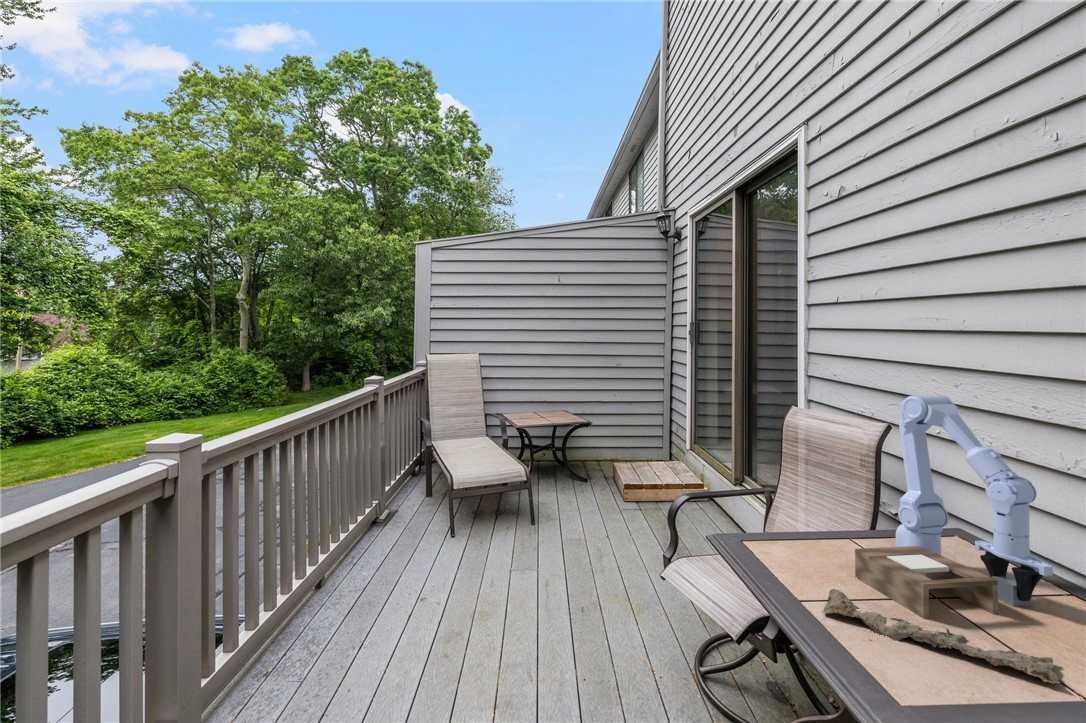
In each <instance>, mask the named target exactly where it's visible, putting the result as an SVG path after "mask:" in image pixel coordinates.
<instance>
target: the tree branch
mask: <svg viewBox="0 0 1086 723" xmlns="http://www.w3.org/2000/svg"><path fill="white" fill-rule="evenodd" d="M859 608H860V607H858V606H857V605H855V603H854V602H852V600H850V599H849V598H848V596H847V595H846V594H845V593H844V592H843V591H841V590H839V589H835V588H832V589H830V590H829V593H828V597H827V602H826V604H824V608H823V611H821V613H822V614H824V613H825V614H826V613H829V614H833V613H834V614H841V615H842V616H844V617H845V616H846V617H847V616H848V617H850V618H855V617H856V618H857V619H860V620H861V621H862V622H863V623H864V624H865V625H867V626H868V627H869V628H870V629H871V631H872V633H873V632H874V633H873V634H875V633H877V634H879V635H878V636H880V635H884V636H883V637H885V636H887V637H889V639H890V638H891V639H890V640H892V641H900V640H903V639H905V638H908V637H911V638H912V639H913V640H914V641H917V642H920V643H926V644H930V646H932V647H934V648H937V647H938V649H941V648H942V649H943V648H945V649H947V648H948V649H951V650H952V648H954V649H955V650H956V649H957V650H959V651H960V652H961V654H962V655H968V656H970V657H974V658H980V659H985V660H986V661H987V662H988V663H989V664H991V665H993V666H995V667H997V666H998V667H999V666H1002V667H1003V666H1006V667H1008V666H1009V667H1011V668H1013V669H1014V670H1018V671H1021V672H1024V673H1025V674H1027V675H1031V676H1033V677H1034V678H1036V677H1038V678H1039V679H1041V681H1043V682H1044V683H1046V682H1048V683H1049V684H1050V683H1051V684H1061V683H1062V682H1060V681H1059V676H1058V675H1057V671H1056V666H1055V665H1054V659H1053V657H1047V656H1046V657H1043V656H1042V657H1038V656H1034V655H1028V654H1026V653H1023V652H1016V651H1013V650H1012V651H1011V650H1007V651H1005V650H999V649H995V650H994V649H988V650H985V649H987V648H986V646H985V645H983V647H985V649H982V648H981V647H974V646H972V645H968V644H967V643H966V642H969V639H967V638H966V636H964V635H962V634H954V633H952V632H950V630H949V628H946V632H944V631H939V630H937V631H934V630H929V629H924V628H923V627H921V626H919V625H917V624H915V623H910V622H908V621H907V620H905V619H902V618H895V617H892V618H888V619H889V620H891V621H897V622H895V623H893V624H892V625H890V626H891V627H890V626H889V625H887V626H886V624H887V617H886V616H883V615H882V614H880V613H877V612H873V611H870V612H866V611H863V612H865V613H863V612H862V613H860V612H861V611H862V610H861V611H857V610H856V609H859ZM877 634H876V635H877ZM887 637H886V638H887Z"/></svg>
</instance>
